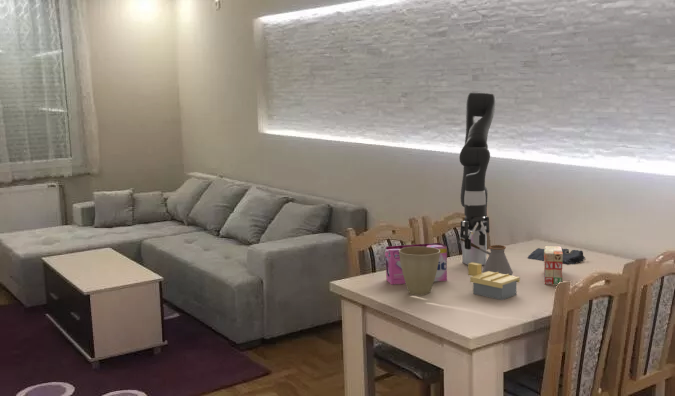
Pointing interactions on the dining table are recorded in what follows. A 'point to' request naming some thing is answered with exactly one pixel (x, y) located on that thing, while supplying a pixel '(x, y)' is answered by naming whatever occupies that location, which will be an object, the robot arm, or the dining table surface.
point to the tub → (496, 290)
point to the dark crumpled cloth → (568, 259)
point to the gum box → (395, 269)
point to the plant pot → (419, 268)
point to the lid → (489, 276)
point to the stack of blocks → (553, 264)
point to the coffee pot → (495, 259)
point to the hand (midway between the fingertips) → (475, 247)
